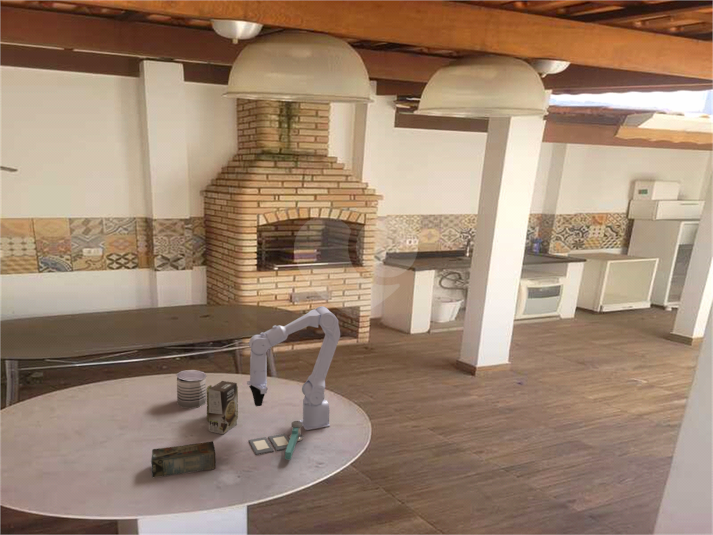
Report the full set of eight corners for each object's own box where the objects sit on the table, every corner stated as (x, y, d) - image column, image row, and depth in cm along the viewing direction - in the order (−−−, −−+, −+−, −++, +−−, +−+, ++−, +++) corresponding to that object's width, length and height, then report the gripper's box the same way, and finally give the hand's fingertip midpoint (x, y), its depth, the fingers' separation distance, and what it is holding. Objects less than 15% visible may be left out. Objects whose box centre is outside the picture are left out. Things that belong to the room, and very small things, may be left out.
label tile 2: (284, 434, 198) (284, 433, 198) (293, 447, 189) (293, 446, 189) (268, 437, 195) (268, 436, 195) (276, 451, 186) (276, 449, 186)
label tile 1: (265, 438, 195) (265, 436, 195) (273, 451, 186) (273, 450, 186) (248, 441, 192) (248, 439, 192) (256, 455, 183) (256, 453, 183)
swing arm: (292, 431, 197) (292, 420, 196) (302, 432, 197) (302, 421, 196) (282, 459, 179) (282, 447, 178) (293, 459, 178) (293, 447, 178)
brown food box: (241, 391, 205) (211, 396, 199) (242, 421, 207) (211, 427, 201) (232, 380, 214) (202, 385, 209) (232, 409, 216) (203, 415, 211)
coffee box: (224, 435, 196) (223, 391, 193) (208, 431, 198) (207, 388, 195) (237, 424, 204) (237, 382, 202) (222, 420, 207) (222, 379, 204)
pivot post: (300, 434, 199) (301, 422, 198) (305, 440, 194) (305, 428, 194) (287, 436, 197) (287, 424, 196) (291, 442, 192) (292, 431, 191)
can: (184, 395, 228) (184, 367, 226) (211, 398, 226) (210, 370, 224) (171, 407, 217) (171, 378, 215) (199, 409, 215) (199, 380, 213)
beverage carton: (152, 465, 176) (151, 446, 174) (214, 457, 182) (214, 438, 181) (151, 479, 168) (150, 458, 167) (216, 470, 174) (216, 450, 173)
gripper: (242, 363, 200) (242, 399, 203) (252, 377, 187) (252, 415, 190) (261, 361, 203) (261, 396, 206) (272, 375, 190) (272, 412, 193)
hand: (258, 405), depth 198 cm, fingers closed
